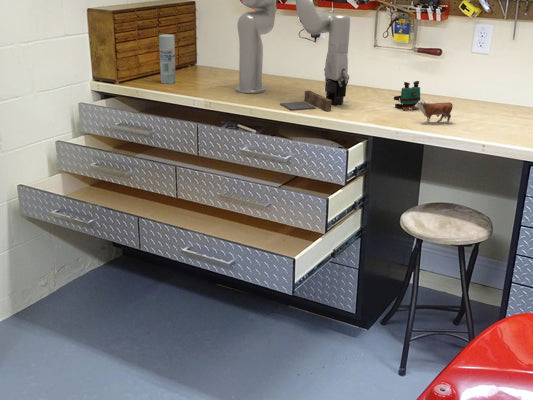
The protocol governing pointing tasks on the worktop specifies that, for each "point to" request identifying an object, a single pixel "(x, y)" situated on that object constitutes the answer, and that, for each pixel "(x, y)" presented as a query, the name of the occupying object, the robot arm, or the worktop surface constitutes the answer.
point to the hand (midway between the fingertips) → (335, 94)
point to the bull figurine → (435, 109)
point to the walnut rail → (318, 100)
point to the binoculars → (409, 96)
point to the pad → (297, 106)
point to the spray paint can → (167, 58)
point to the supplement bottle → (333, 92)
